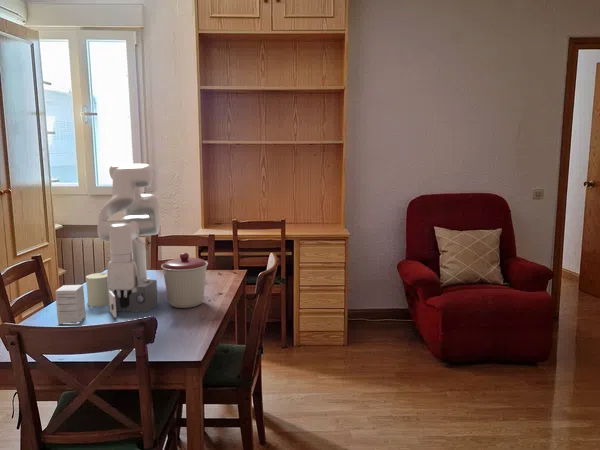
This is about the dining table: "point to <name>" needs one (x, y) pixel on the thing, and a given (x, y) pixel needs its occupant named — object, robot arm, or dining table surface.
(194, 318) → the dining table surface
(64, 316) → the supplement box
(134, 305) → the block
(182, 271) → the canister
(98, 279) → the can
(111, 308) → the side door
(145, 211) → the robot arm
